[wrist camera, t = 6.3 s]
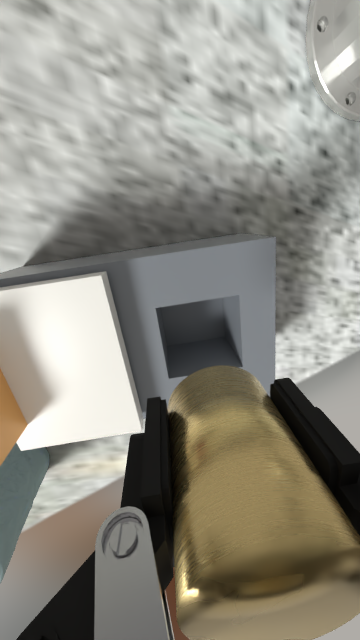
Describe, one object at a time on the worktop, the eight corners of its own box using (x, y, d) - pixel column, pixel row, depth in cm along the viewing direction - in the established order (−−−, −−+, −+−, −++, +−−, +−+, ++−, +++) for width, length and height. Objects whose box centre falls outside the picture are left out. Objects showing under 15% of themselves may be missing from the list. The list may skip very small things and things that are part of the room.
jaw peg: (266, 358, 10) (401, 522, 4) (265, 438, 12) (363, 633, 6) (160, 373, 10) (163, 562, 4) (174, 452, 11) (187, 665, 6)
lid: (106, 271, 17) (84, 289, 12) (143, 417, 21) (138, 470, 17) (-41, 293, 16) (-120, 320, 12) (30, 436, 21) (-7, 495, 17)
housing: (241, 233, 24) (276, 236, 17) (246, 353, 30) (274, 397, 22) (22, 266, 24) (-40, 285, 17) (66, 382, 29) (34, 436, 22)
